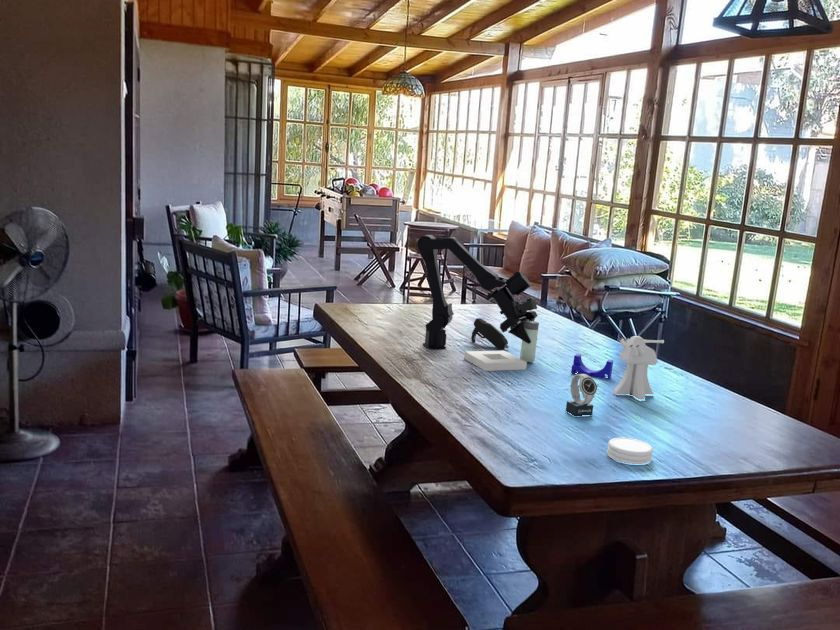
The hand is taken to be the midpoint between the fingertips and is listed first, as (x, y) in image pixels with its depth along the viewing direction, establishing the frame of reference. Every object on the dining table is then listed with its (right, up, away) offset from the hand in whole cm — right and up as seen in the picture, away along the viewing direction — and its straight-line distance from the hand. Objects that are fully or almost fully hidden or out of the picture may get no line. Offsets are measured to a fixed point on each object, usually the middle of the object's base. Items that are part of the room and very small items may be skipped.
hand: (533, 341), depth 258 cm
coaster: (+10, -24, -80) cm, 84 cm away
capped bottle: (-2, -6, +2) cm, 7 cm away
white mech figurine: (+26, -15, -27) cm, 41 cm away
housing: (-13, -7, -4) cm, 16 cm away
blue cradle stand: (+17, -11, -8) cm, 22 cm away
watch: (+5, -18, -50) cm, 54 cm away
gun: (-13, -3, +22) cm, 25 cm away
